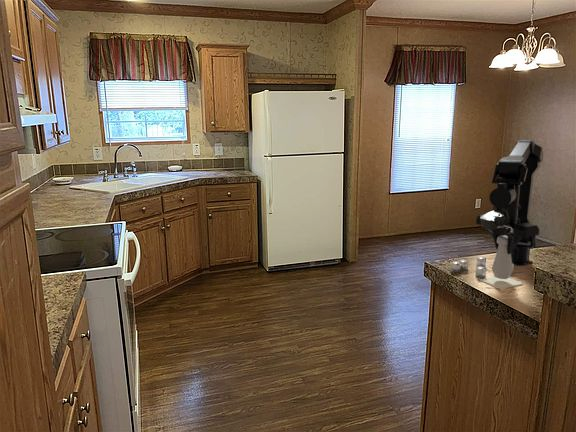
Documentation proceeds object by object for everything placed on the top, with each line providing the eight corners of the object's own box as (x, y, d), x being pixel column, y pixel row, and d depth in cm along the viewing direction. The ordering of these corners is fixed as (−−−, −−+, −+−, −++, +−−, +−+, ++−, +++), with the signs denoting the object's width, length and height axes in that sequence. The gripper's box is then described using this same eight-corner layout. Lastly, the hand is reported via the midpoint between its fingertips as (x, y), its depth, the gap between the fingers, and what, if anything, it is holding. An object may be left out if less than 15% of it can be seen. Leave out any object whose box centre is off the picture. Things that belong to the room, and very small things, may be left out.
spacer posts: (488, 263, 159) (489, 254, 158) (515, 273, 149) (516, 264, 148) (447, 270, 153) (448, 261, 152) (472, 281, 142) (473, 272, 142)
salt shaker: (506, 273, 143) (509, 233, 140) (515, 279, 138) (519, 238, 135) (487, 273, 143) (491, 234, 140) (496, 280, 137) (500, 239, 135)
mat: (502, 276, 146) (502, 275, 146) (522, 284, 139) (523, 283, 139) (480, 280, 143) (480, 279, 143) (500, 289, 135) (500, 288, 135)
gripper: (463, 199, 141) (461, 247, 144) (513, 210, 124) (508, 264, 127) (491, 196, 145) (488, 243, 148) (543, 206, 128) (537, 259, 131)
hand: (503, 251), depth 139 cm, fingers closed on salt shaker, 4 cm apart
